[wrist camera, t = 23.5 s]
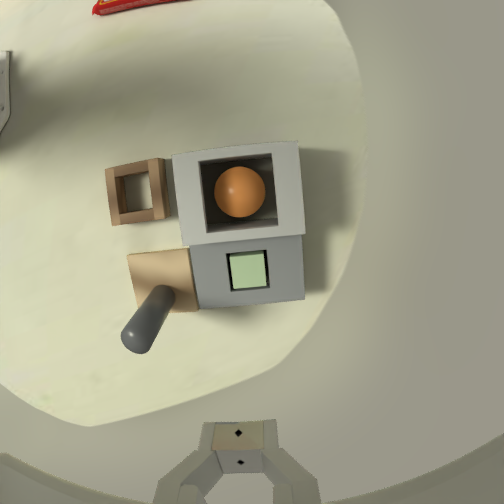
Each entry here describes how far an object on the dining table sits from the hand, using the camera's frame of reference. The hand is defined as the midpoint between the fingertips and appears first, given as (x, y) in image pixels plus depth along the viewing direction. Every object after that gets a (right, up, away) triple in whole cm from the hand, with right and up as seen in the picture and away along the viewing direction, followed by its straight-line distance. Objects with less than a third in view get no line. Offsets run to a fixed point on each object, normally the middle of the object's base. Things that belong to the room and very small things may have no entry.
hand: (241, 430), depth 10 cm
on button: (0, +6, +24) cm, 24 cm away
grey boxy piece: (0, +10, +23) cm, 25 cm away
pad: (-11, +4, +25) cm, 27 cm away
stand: (-13, +15, +22) cm, 30 cm away
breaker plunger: (-1, +14, +22) cm, 26 cm away
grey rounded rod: (-11, +2, +25) cm, 27 cm away
